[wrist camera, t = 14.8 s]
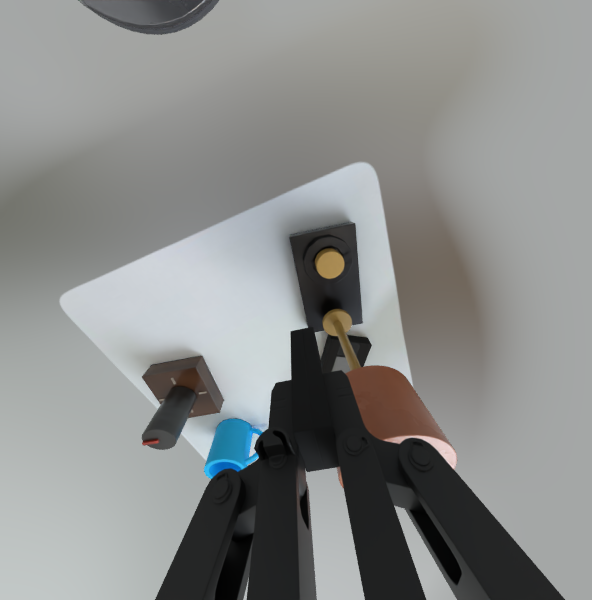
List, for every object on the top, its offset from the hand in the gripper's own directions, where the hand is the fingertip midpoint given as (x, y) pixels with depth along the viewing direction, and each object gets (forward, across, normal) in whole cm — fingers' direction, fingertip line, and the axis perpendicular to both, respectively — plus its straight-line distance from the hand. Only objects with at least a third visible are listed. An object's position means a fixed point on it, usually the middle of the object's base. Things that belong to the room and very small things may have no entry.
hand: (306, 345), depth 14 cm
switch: (+17, +4, 0) cm, 17 cm away
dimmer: (+17, -26, -19) cm, 37 cm away
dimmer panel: (+20, -26, -19) cm, 38 cm away
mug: (+20, -20, -35) cm, 46 cm away
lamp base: (+20, +4, -4) cm, 21 cm away
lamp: (+16, +4, -9) cm, 19 cm away
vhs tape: (+20, +4, -22) cm, 30 cm away
